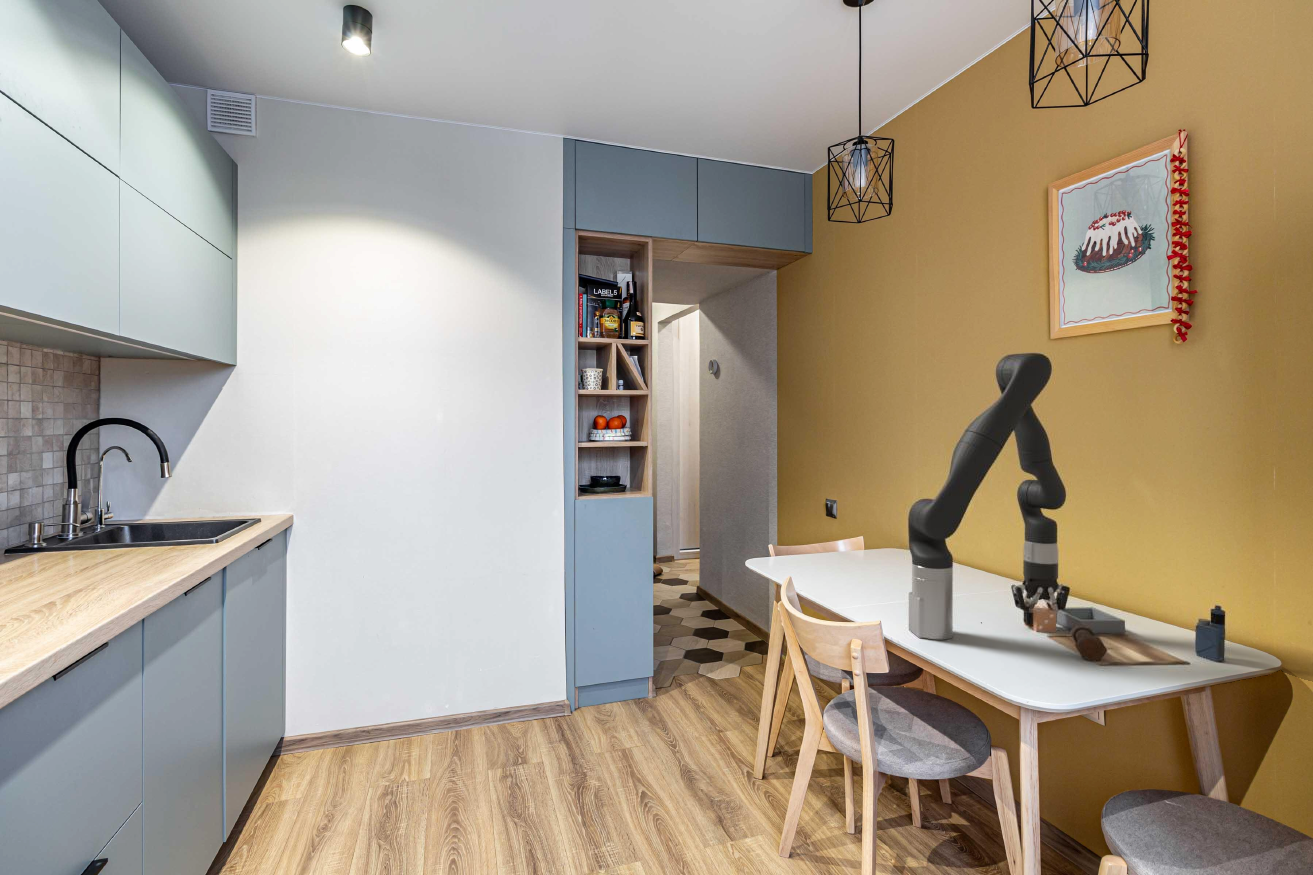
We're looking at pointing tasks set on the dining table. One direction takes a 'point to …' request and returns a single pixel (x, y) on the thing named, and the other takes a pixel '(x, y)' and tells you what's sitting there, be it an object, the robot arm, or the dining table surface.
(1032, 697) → the dining table surface
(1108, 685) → the dining table surface
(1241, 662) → the dining table surface
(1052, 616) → the die
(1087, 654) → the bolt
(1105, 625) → the tray
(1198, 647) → the vaping device
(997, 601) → the dining table surface
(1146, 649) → the board
